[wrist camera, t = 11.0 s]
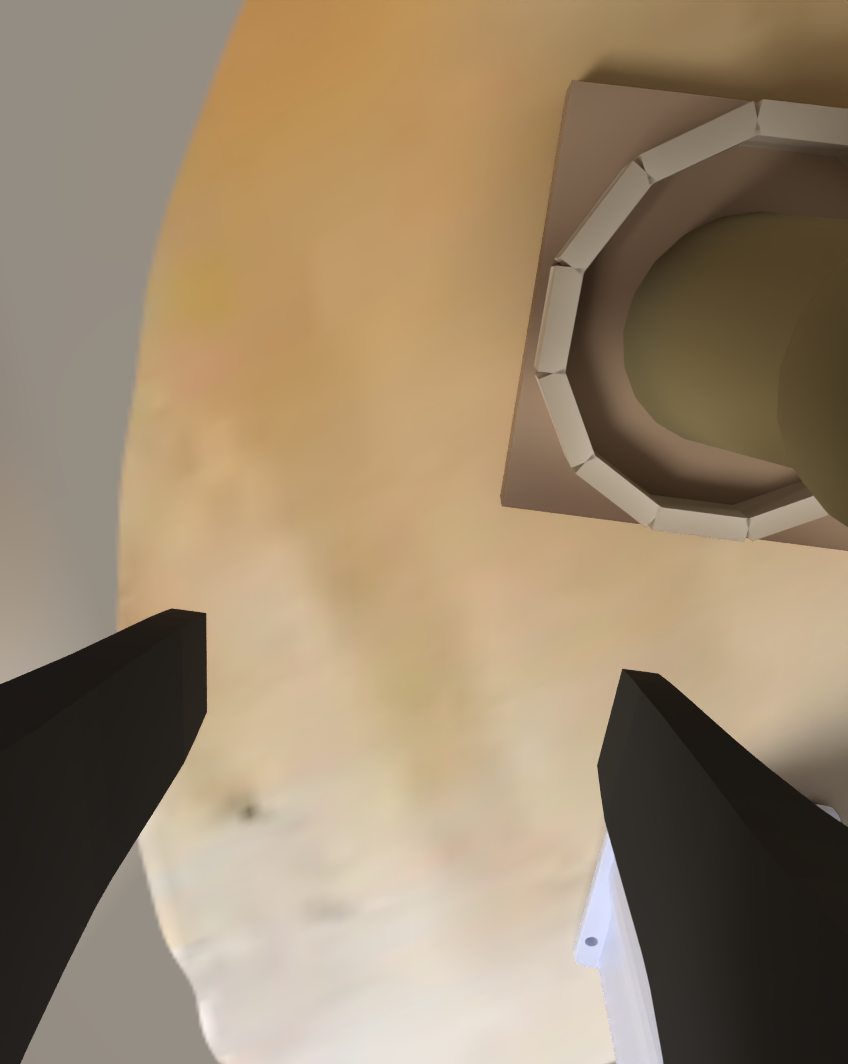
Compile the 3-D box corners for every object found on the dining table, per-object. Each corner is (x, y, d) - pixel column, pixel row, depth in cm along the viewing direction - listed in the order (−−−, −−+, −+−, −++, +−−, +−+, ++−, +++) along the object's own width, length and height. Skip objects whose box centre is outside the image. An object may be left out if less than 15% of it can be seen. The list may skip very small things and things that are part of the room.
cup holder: (848, 541, 21) (890, 569, 18) (500, 496, 21) (503, 519, 19) (998, 141, 17) (1072, 121, 15) (566, 91, 17) (579, 64, 15)
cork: (882, 213, 16) (1565, 96, 6) (824, 449, 19) (1259, 651, 8) (638, 208, 17) (904, 89, 7) (609, 440, 19) (773, 625, 9)
